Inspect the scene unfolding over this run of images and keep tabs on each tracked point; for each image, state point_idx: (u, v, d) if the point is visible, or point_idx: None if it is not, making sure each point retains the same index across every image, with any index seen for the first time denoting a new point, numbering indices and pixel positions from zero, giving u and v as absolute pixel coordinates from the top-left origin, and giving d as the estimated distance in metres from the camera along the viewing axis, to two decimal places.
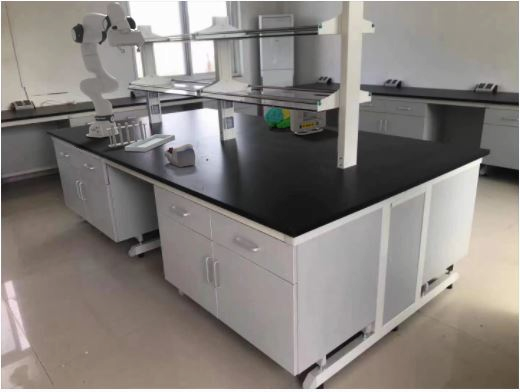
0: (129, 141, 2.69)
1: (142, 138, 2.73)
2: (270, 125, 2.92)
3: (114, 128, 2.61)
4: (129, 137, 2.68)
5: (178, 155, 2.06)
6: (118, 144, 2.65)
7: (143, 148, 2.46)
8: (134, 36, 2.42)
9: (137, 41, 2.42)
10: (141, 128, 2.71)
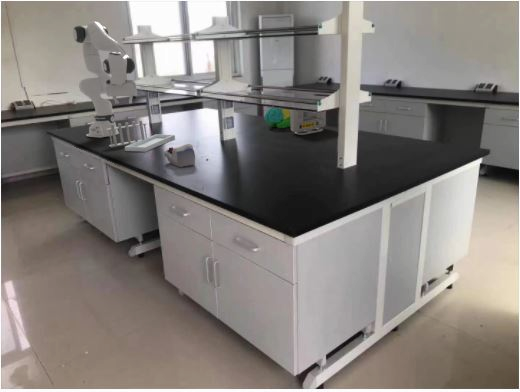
0: (129, 141, 2.69)
1: (142, 138, 2.73)
2: (270, 125, 2.92)
3: (114, 128, 2.61)
4: (129, 137, 2.68)
5: (178, 155, 2.06)
6: (118, 144, 2.65)
7: (143, 148, 2.46)
8: (126, 89, 2.55)
9: (127, 94, 2.56)
10: (141, 128, 2.71)
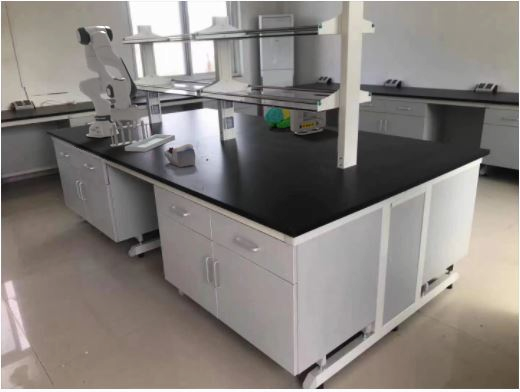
0: (131, 141, 2.69)
1: (144, 138, 2.73)
2: (270, 125, 2.92)
3: (116, 128, 2.61)
4: (131, 137, 2.69)
5: (178, 155, 2.06)
6: (120, 144, 2.66)
7: (143, 148, 2.46)
8: (129, 113, 2.60)
9: (131, 119, 2.61)
10: (143, 128, 2.71)
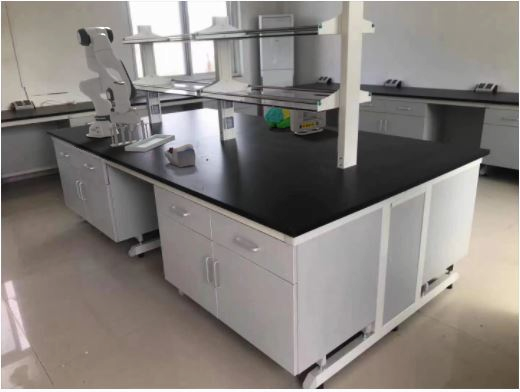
0: (131, 141, 2.69)
1: (144, 138, 2.73)
2: (270, 125, 2.92)
3: (116, 128, 2.61)
4: (131, 137, 2.69)
5: (178, 155, 2.06)
6: (120, 143, 2.66)
7: (143, 148, 2.46)
8: (129, 117, 2.61)
9: (131, 122, 2.62)
10: (143, 128, 2.71)
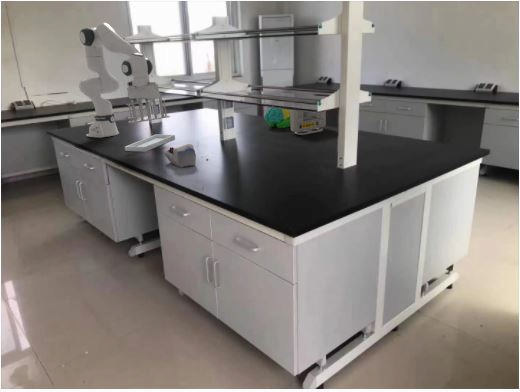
0: (149, 117, 2.57)
1: (162, 114, 2.62)
2: (270, 125, 2.92)
3: (135, 103, 2.49)
4: (149, 113, 2.57)
5: (179, 155, 2.06)
6: (138, 120, 2.53)
7: (143, 148, 2.46)
8: (148, 91, 2.49)
9: (149, 97, 2.50)
10: (161, 104, 2.60)
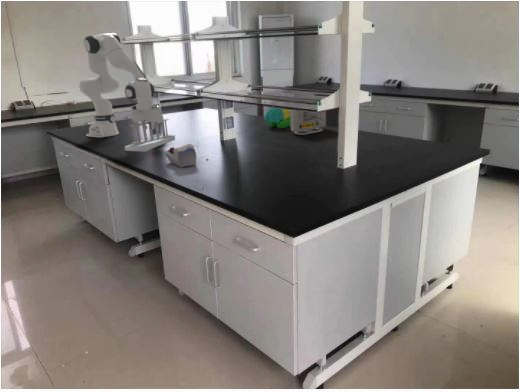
0: (152, 137, 2.62)
1: (164, 134, 2.67)
2: (270, 125, 2.92)
3: (139, 124, 2.53)
4: (152, 133, 2.61)
5: (179, 155, 2.06)
6: (143, 141, 2.57)
7: (143, 148, 2.46)
8: (151, 115, 2.54)
9: (153, 120, 2.55)
10: (163, 124, 2.65)
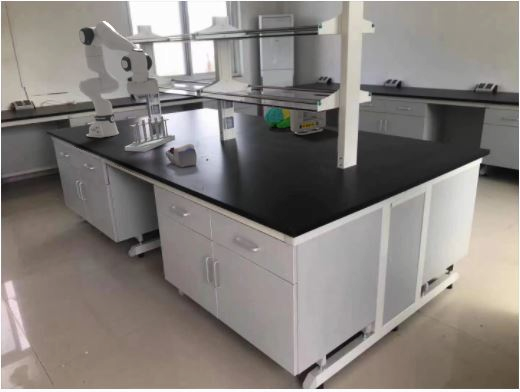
0: (152, 137, 2.62)
1: (164, 134, 2.67)
2: (270, 125, 2.92)
3: (139, 124, 2.53)
4: (152, 133, 2.61)
5: (179, 155, 2.06)
6: (143, 141, 2.57)
7: (143, 148, 2.46)
8: (147, 87, 2.49)
9: (149, 93, 2.49)
10: (163, 124, 2.65)
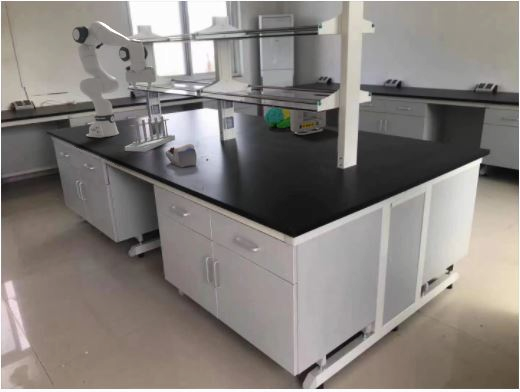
0: (152, 137, 2.62)
1: (164, 134, 2.67)
2: (270, 125, 2.92)
3: (139, 124, 2.53)
4: (152, 133, 2.61)
5: (179, 155, 2.06)
6: (143, 141, 2.57)
7: (143, 148, 2.46)
8: (145, 76, 2.64)
9: (146, 81, 2.65)
10: (163, 124, 2.65)
